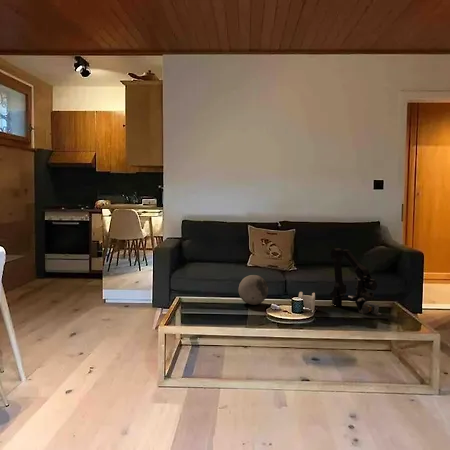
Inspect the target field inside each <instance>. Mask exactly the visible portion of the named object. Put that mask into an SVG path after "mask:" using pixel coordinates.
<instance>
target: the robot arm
mask: <svg viewBox="0 0 450 450" xmlns="http://www.w3.org/2000/svg"><path fill="white" fill-rule="evenodd" d="M329 253H330V258H331V260H332V261H333V268H334V269H333V270H334V271H333V272H334V285H333V290H332V291H331V292H330V293H329V295H330V298H331V304H332V303H333V304H334V305H336V307H335V308H339V306H341V307H343V306H342V305H343V299H342V298H344V297H345V295H346V294H347V291H348V290H347V285H346V284H344V281H343V280H344V279H343V269H342V261H343V258H345V259H346V260H347V261H348V263H349V264H350V266H352V268H353V269H354V273H355V274H356V277H355V278H354V280H357V282H356V283H357V284H356V287H355V290H356V293H355V294H351V295H347V301H350V302H354V303H355V304H356V307H357V308H358V312H359V311H360V310H361V308H362V306H363V304H364V303H365V302H366V301H368V302H370V301H372V300H374V297H375V293H374V292H369V291H368V290H371V291H376V289H378V284H377V281H376V279H372V278H373V277H372V275H371V273H370V271H369V269H368V268H367V267H366V266H364V265H363V264H361V263H360V262H359V261H358V260H357V258H356V257H355V256H354V255H353V253H352V251H351V250H350V249H342V248H332V249H331V250H330V252H329Z"/></svg>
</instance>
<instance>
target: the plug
mask: <svg viewBox="0 0 450 450" xmlns="http://www.w3.org/2000/svg"><path fill="white" fill-rule="evenodd" d="M358 313H360V314H364V315H365V314H369V313H371V306H368V307H367V306H362V308H361V310H360V311H359V310H358Z"/></svg>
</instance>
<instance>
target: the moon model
mask: <svg viewBox="0 0 450 450" xmlns="http://www.w3.org/2000/svg"><path fill="white" fill-rule="evenodd" d="M267 283H268V282H267V281H266V280H265V278H263V277H262V276H260V275H259V274H258V275H256V274H250V275H247V276H245V277H243V278H242V280H241V281H240V283H239V284H238V285H239V286H238V294H239V297H240V299H241V300H242V301H243V302H244V303H246V304H247V305H251V306H255V305H260V304H261V303H263V302H264V301H265V300H266V299H267V297H268V294H269V286H268V284H267Z"/></svg>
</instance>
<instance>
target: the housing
mask: <svg viewBox="0 0 450 450" xmlns="http://www.w3.org/2000/svg"><path fill="white" fill-rule="evenodd" d="M363 306H367V307H371V312H370V313H371V314H372V315H375V316H376V317H377V316H382V313H381V312H379V308H380V305H379V304H377V303H374V302H370V301H366V302H365V303H364V304H363ZM357 309H358V307H357Z"/></svg>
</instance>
